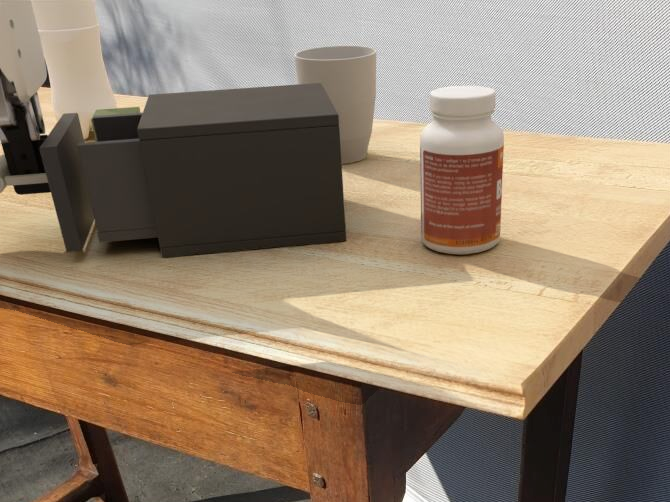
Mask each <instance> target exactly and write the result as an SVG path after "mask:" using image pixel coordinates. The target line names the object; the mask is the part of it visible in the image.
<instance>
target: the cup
mask: <svg viewBox="0 0 670 502" xmlns="http://www.w3.org/2000/svg"><path fill="white" fill-rule="evenodd" d="M293 56H294V58H293V59H294V63H295V71H296V79H297V84H312V83H321V84H322V86H323V87H324V89H325V91H326V93H327V95H328V97H329V98H330V100H331V102H332V104H333V106H334V108H335V109H336V111H337V113H338V115H339V130H340V146H341V162H342V165H344V164H345V165H347V164H352V163H357V162H360V161H363V160H364V159H365V158H366V157H367V153H368V149H369V145H370V141H371V136H372V132H373V126H374V117H375V115H374V114H375V106H376V97H377V49H375V48H373V47H369V46H361V45H331V46H321V47H313V48H308V49H303V50H299V51H297V52H295V53H294V55H293Z"/></svg>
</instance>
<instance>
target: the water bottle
mask: <svg viewBox="0 0 670 502" xmlns="http://www.w3.org/2000/svg"><path fill="white" fill-rule="evenodd" d="M31 3H32V7H33V11H34V15H35V19H36V23H37V27H38V31H39V35H40V40H41V44H42V49H43V53H44V59H45V64H46V70H47V75H48V80H49V85H50V95H51V106H52V110H53V113H54V117H55V120H56V123H57V122H58V121H59V119H60V118H61V116H62V115H63V114H67V113H78V116H79V121H80V125H81V129H82V134H83V138H84V141H86V140H87V139H88V138H89V136H90V135H89V134H90V132H93V127H92V122H91V118H92V116H93V115H94V113H95V111H96V110H100V109H114V108H118V105H117V99H116V96H115V93H114V92H113V89H112V87H111V83H110V80H109V77H108V74H107V69H106V66H105V62H104V56H103V51H102V50H103V49H102V42H101V29H100V27H101V25H100V23H99V19H98V14H97V9H96V8H97V7H96V3H95V0H31Z"/></svg>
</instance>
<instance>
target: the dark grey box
mask: <svg viewBox="0 0 670 502" xmlns="http://www.w3.org/2000/svg"><path fill="white" fill-rule="evenodd" d="M142 113H143V114H142V117H141V119H140V122H139V125H138V128H137V133H138V138H139V143H140V148H141V153H142V158H143V164H144V169H145V174H146V179H147V184H148V189H149V194H150V199H151V205H152V210H153V215H154V220H155V225H156V230H157V235H158V237H157V240H158V245H159V250H160V256H161V258H173V257H174V258H175V257H184V256H185V257H186V256H195V255H206V254H207V255H208V254H217V253H228V252H240V251H241V252H242V251H250V250H261V249H274V248H282V247H283V248H284V247H295V246H305V245H316V244H327V243H328V244H329V243H338V242H346V241H347V233H346V232H347V231H346V230H347V229H346V227H347V226H346V212H345V196H344V195H345V194H344V180H343V179H344V177H343V164H342V162H341V146H340V130H339V115H338V113H337V111H336V109H335V108H334V106H333V104H332V102H331V100H330V98H329V97H328V95H327V93H326V91H325V89H324V87H323V86H322V84H321V83H312V84H298V83H297V84H285V85H283V84H282V85H271V86H256V87H242V88H241V87H240V88H225V89H212V90H198V91H185V92H184V91H183V92H169V93H155V94H148V97H147V100H146V103H145V105H144V108H143V110H142Z"/></svg>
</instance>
